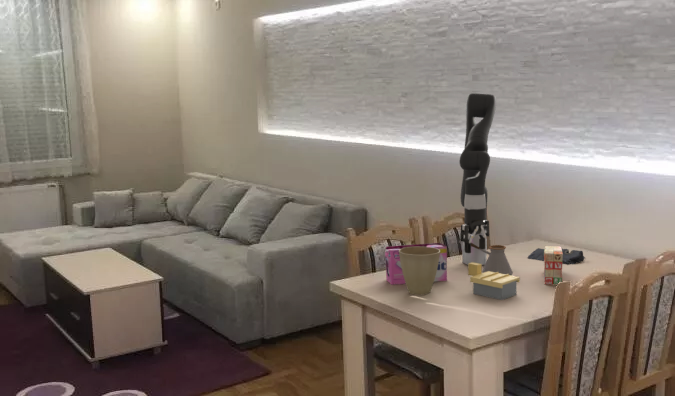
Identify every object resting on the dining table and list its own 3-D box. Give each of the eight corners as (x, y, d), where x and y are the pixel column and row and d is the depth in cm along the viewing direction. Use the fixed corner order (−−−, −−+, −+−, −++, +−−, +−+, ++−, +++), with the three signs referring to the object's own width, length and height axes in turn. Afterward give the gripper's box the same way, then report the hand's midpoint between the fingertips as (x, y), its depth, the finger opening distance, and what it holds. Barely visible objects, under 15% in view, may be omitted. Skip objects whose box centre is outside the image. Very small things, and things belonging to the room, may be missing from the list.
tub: (473, 295, 256) (473, 278, 255) (488, 290, 262) (488, 274, 261) (501, 301, 247) (501, 284, 246) (516, 296, 253) (516, 279, 252)
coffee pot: (516, 277, 278) (516, 239, 276) (507, 284, 268) (507, 245, 266) (464, 271, 289) (464, 235, 287) (453, 278, 279) (453, 240, 277)
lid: (461, 279, 258) (461, 265, 257) (479, 274, 265) (479, 260, 264) (501, 288, 245) (501, 273, 244) (519, 282, 253) (519, 267, 252)
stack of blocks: (543, 271, 287) (544, 241, 285) (560, 271, 286) (560, 241, 284) (544, 285, 267) (545, 252, 265) (562, 285, 265) (562, 253, 263)
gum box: (387, 285, 272) (387, 250, 270) (382, 280, 280) (381, 246, 278) (447, 280, 277) (447, 246, 275) (440, 275, 284) (440, 242, 282)
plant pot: (430, 301, 250) (429, 256, 248) (392, 295, 258) (391, 252, 256) (447, 290, 263) (446, 248, 260) (410, 285, 270) (410, 244, 268)
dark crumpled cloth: (540, 253, 320) (541, 242, 320) (588, 259, 305) (588, 248, 305) (524, 259, 309) (524, 248, 308) (572, 266, 294) (573, 255, 294)
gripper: (478, 203, 264) (478, 246, 266) (454, 208, 254) (454, 252, 256) (495, 205, 258) (495, 249, 260) (471, 210, 249) (471, 255, 251)
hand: (475, 250), depth 258 cm, fingers open, 8 cm apart
